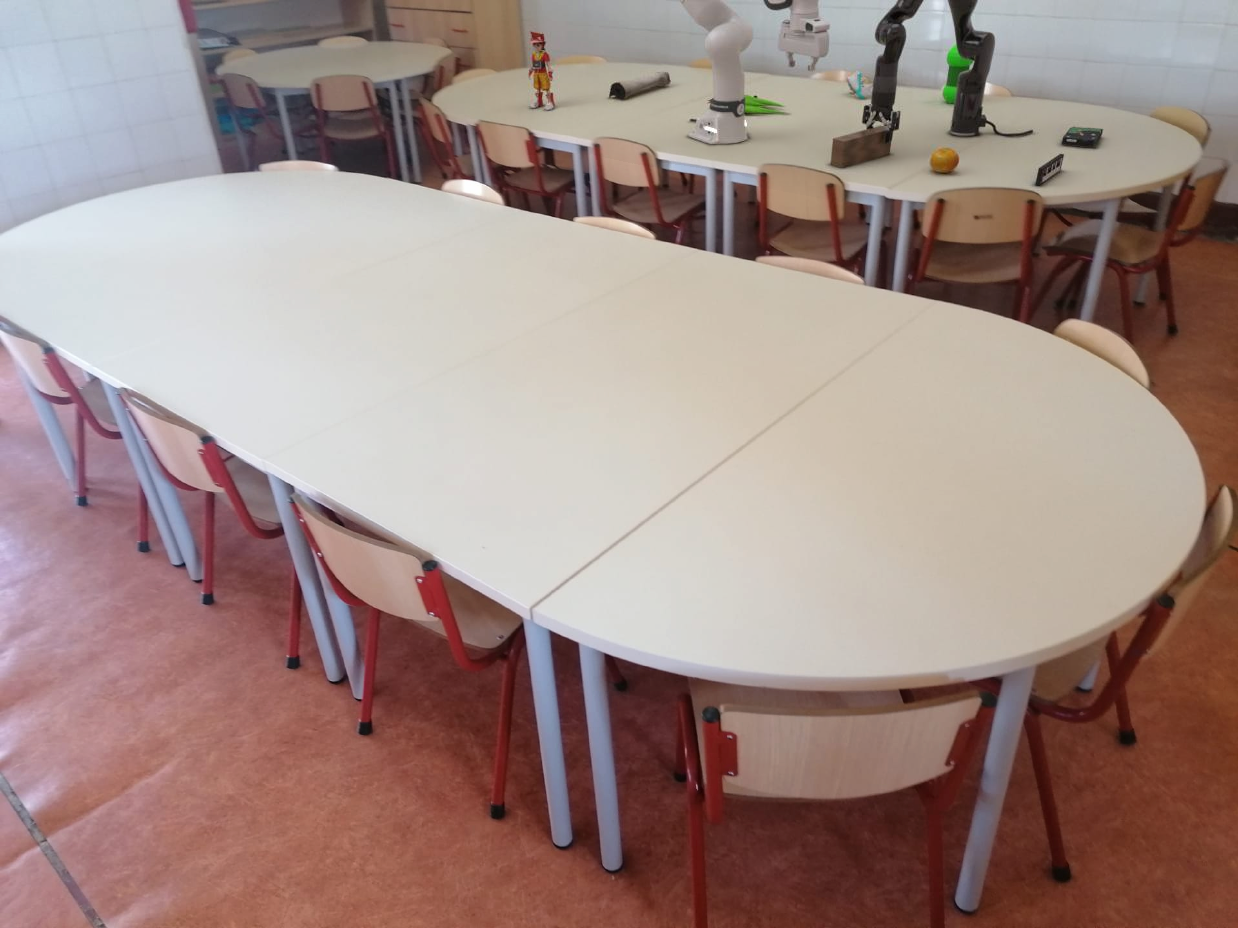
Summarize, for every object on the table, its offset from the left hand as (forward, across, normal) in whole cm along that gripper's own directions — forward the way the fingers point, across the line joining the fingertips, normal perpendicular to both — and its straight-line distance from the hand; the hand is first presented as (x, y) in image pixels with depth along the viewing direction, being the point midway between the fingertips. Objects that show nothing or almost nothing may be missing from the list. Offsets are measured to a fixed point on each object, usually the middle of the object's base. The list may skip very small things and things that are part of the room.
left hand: (801, 69), depth 294 cm
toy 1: (+28, -124, -31) cm, 131 cm away
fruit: (+27, +46, +20) cm, 57 cm away
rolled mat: (+28, -116, +15) cm, 120 cm away
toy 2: (+28, -55, +28) cm, 68 cm away
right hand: (+23, +20, +19) cm, 35 cm away
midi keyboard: (+27, +72, +37) cm, 85 cm away
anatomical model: (+28, -43, +75) cm, 91 cm away
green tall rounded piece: (+28, -9, +92) cm, 96 cm away
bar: (+27, +20, +11) cm, 35 cm away
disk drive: (+27, +56, +78) cm, 100 cm away
